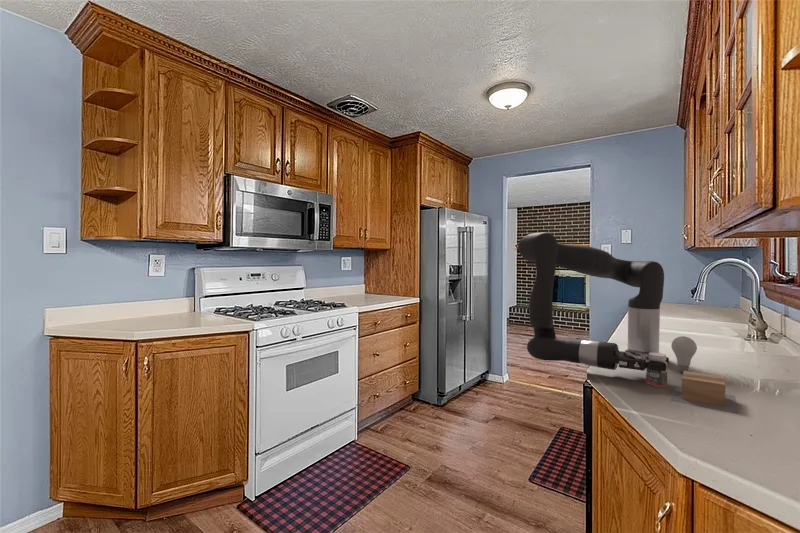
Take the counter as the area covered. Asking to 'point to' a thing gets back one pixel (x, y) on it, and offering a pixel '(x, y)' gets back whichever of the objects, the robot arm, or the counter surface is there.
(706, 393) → the walnut block
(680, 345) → the lightbulb
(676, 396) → the mat
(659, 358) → the pill bottle
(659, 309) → the robot arm
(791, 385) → the counter surface
